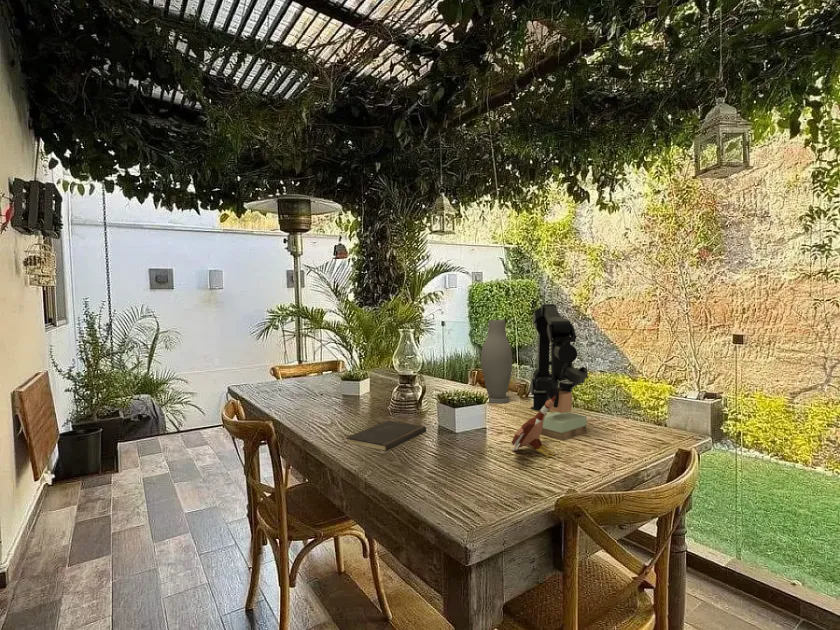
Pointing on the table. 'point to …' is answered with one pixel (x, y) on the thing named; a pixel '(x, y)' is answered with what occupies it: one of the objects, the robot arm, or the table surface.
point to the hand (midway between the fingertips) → (560, 406)
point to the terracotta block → (563, 402)
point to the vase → (496, 362)
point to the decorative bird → (533, 431)
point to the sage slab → (563, 421)
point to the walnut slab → (563, 435)
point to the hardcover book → (386, 435)
